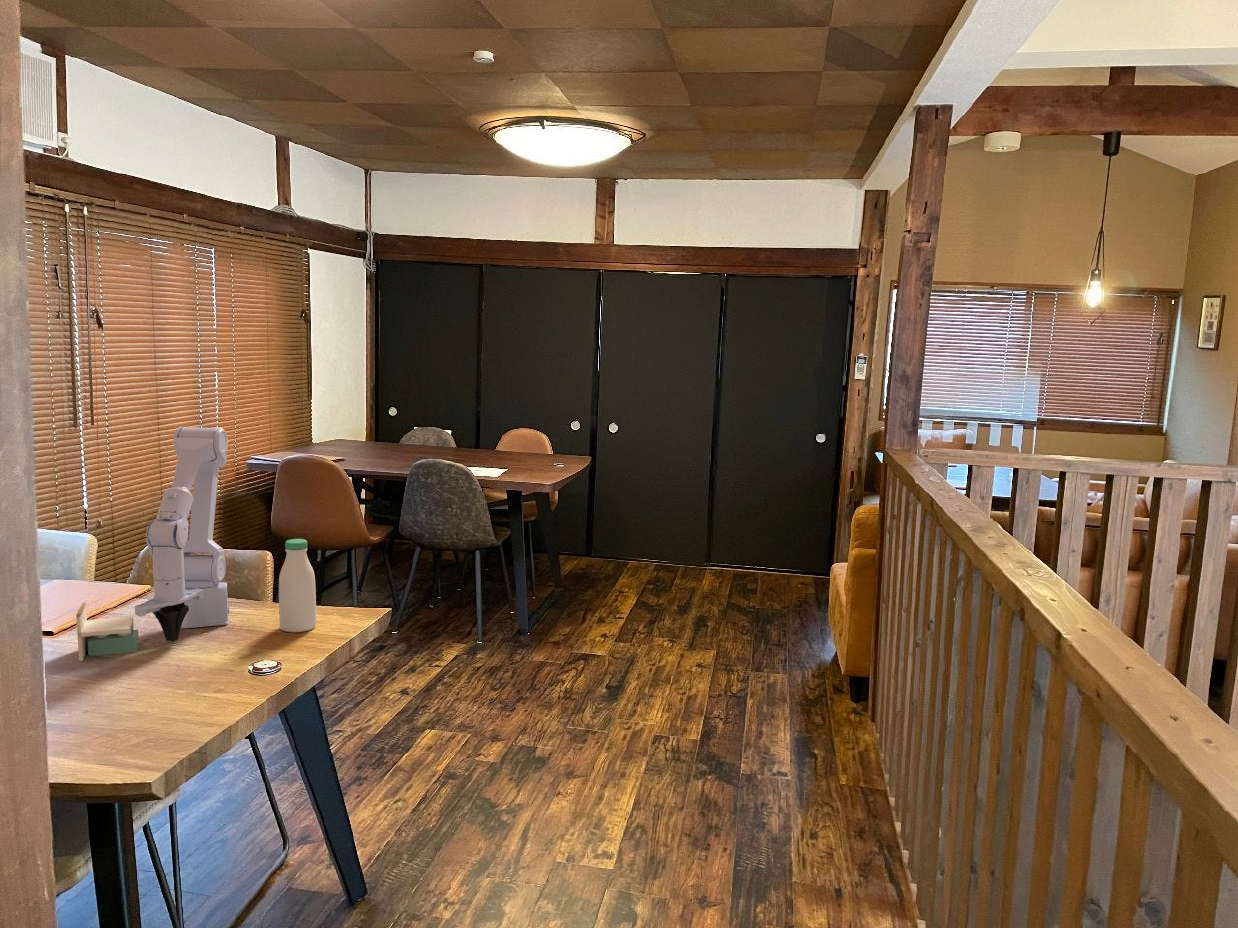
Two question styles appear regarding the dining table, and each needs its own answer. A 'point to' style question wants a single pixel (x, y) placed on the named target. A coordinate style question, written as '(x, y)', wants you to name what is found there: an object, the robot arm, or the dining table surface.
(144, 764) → the dining table surface
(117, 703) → the dining table surface
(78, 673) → the dining table surface
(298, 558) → the milk bottle
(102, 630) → the beige flanged peg
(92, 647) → the teal block
